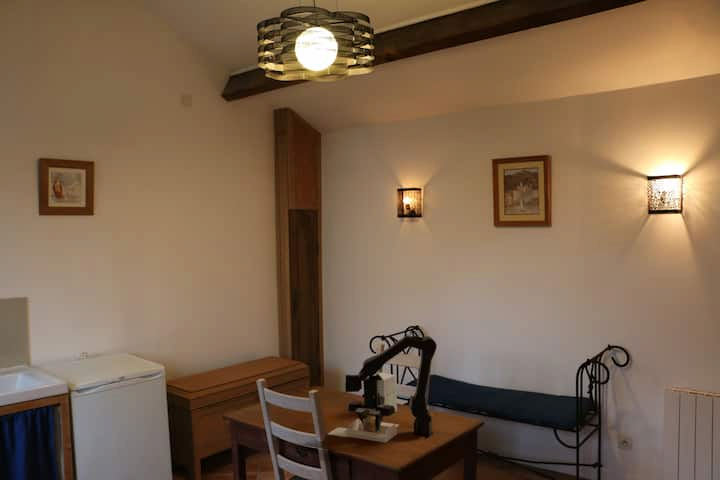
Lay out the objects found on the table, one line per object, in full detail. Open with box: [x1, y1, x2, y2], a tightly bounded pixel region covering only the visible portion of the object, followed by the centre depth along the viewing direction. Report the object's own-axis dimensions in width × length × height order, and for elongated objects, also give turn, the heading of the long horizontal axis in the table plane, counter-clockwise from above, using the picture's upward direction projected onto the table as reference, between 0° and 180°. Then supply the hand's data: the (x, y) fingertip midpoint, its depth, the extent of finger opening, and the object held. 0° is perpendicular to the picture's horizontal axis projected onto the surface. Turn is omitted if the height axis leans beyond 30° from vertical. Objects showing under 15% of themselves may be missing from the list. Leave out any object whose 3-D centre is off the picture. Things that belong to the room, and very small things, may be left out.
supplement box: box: [369, 372, 398, 415], centre depth 275 cm, size 10×9×17 cm
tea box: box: [363, 415, 380, 434], centre depth 243 cm, size 5×5×7 cm
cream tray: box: [344, 418, 400, 443], centre depth 243 cm, size 17×16×5 cm
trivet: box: [327, 427, 348, 438], centre depth 248 cm, size 9×9×1 cm
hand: (371, 429), depth 243 cm, fingers closed on tea box, 5 cm apart
